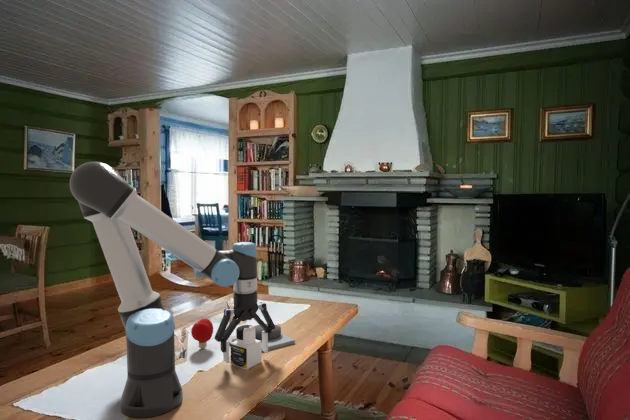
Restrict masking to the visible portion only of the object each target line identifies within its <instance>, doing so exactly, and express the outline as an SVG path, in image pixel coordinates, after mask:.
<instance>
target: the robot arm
mask: <svg viewBox="0 0 630 420" xmlns="http://www.w3.org/2000/svg"><path fill="white" fill-rule="evenodd" d="M69 190H70V192H71V194H72V196H73V197H74V199H75V200H77V202H78V205H79V209H80V210H81V212H82V213H81V214H82V216H83V218H84V220H87V221H90V222H91V223H92V225H93V229H94V230H95V233H96V236H97V239H98V242H99V244H100V247H101V250H102V252H103V255H104V258H105V260H106V261H105V262H106V263H107V266H108V269H109V272H110V274H111V277H112V280H113V282H114V286H115V289H116V291H117V294H118V297H119V299H120V301H121V302H120V304H119V306H118V308H117V311H118V313H119V317H120V319H121V322H122V325H123V327H124V331H125V338H126V339H125V340H126V368H127V369H126V371H127V377H126V381H125V385H124V387H123V388H124V389H123V391H122V395H121V397H120V411H121V413H122V414H124V415H125V416H128V417H130V418H136V419H137V418H138V419H139V418H141V419H144V418H152V417H157V416H160V415H163V414H166V413H168V412H170V411H172V410H174V409H176V408H177V407H178V406H179V405H180V404H181V403H182V401H183V392H184V391H183V387H182V385H181V382H180V379H179V376H178V374H177V372H176V354H175V353H176V352H175V350H176V348H175V347H176V345H175V329H176V324H175V323H176V322H175V319H174V318H175V317H174V315H173V313H171V312H170V311H169V310H166V308H165V305H164V303H163V299H162V298H161V294H160V293H159V292H157V291H154V290H153V289H152V285H151V283H150V280H149V277H148V275H147V271H146V269H145V266H144V263H143V260H142V257H141V254H140V251H139V248H138V246H137V242H136V240H135V237H134V234H133V231H132V229H133V230H135V231H136V232H138V233H139V234H141V235H142V236H144V237H146V238H147V239H148V240H150V241H152V242H153V243H154V244H156V245H158V246H159V247H161V249H162V248H163V249H164V250H166V251H167V252H169V253H170V254H171V255H173V256H175V257H176V258H178V259H179V260H181V261H182V262H184V263H185V264H187V265H188V266H190V267H192V268H193V273H194V276H195V277H197V278H208V280H209V279H210V280H211V281H212V282H213V283H214V284H215V285H217V286H219V287H223V288H226V287H228V288H229V287H231V286H233V289H232V290H233V291H234V292H233V308H229V309H228V308H227V307H225V308H224V309H223V316H222V319H221V321H220V323H219V326H218V327H217V328H218V329H217V330H216V333H215V335H214V340H215V341H216V342H220V351H221V352H222V353H223V354H222V355H223V362H225V363H226V364H229V363H230V345H229V342H228V341H227V340H228V338H229V337H231V336H232V334H233V333H234V330H236V329H237V326H238V325H240V323H241V322H246V321H251V320H252V319H253V320H254V321H255V322H256V323H257V325H260V326H261V327H262V328H263V329H264V330H265V331H262V351H263V353H265V354H268V353H269V350H268V341H270V333H271V332H272V329H275V325H276V324H274V321H273V319H272V317H271V315H270V313H269V312H268V308H267V303H265V302H263V301H261V302H259V303H258V291H257V290H258V253H257V252H258V251H257V245H256V243H254V242H252V241H251V242H250V241H240V242H234V243H233V244H232V249H227V250H218V249H216V248H215V247H214V246H212V245H211V244H209V243H208V242H206V241H204V240H203V239H202V238H201V237H199V236H198V235H196V234H194V233H193V232H191V231H190V230H189V229H188V228H186V227H185V226H183V225H182V224H181V223H179V222H177V221H176V220H174V219H173V218H172V217H171V216H169V215H167V214H166V213H164V211H161V210H160V209H159V208H158V207H156V206H155V205H153V204H152V203H150V202H149V201H147V200H146V199H144V198H143V197H142V196H140V195H139V194H138V192H137V188H136V187H134V186H133V185H131V184H130V183H129V182H127V180H125V179H124V178H123V177H122V176H121V175H120V174H119V172H117V171H116V169H114V168H113V167H112V166H110V165H109V164H107V163H103V162H101V161H88V162H84V163H83V164H82V163H81V165H79V166H77V167H76V168H75V169H74V170H73V172H72V173H71V175H70V179H69ZM258 310H260V312H261V315H262V316H263V317H264V320H265V322H266V323H265V322H264V321H263V320H262V318H261V317H260V316H259V315H258V314H257V312H258ZM233 314H234V315H233ZM231 317H232V318H231ZM229 322H230V323H229ZM266 324H268V326H267V325H266Z"/></svg>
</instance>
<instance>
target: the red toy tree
mask: <svg viewBox="0 0 630 420" xmlns="http://www.w3.org/2000/svg"><path fill="white" fill-rule="evenodd" d="M190 333H191V336H192V338H193V339H194V341H197V342H198V348H199V349H201V350H205V348H207V343H208V341H210V340H211V339H212V336H213V334H214V325H213V322H212V321H211V319H209V318H201V319H199V320H198V321H197V322H195V323H194V324H193V325H192V327H191V330H190Z"/></svg>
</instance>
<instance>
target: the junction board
mask: <svg viewBox="0 0 630 420" xmlns="http://www.w3.org/2000/svg"><path fill="white" fill-rule="evenodd" d="M227 341H228V342H229V347H231V343H232V342H234V341H237V340H236V335H230V337H229V338H228V340H227ZM260 341H261V340H260ZM295 343H296V339H294V338H292V337H290V336H289V335H286V334H284V333H282V332H281V336H280V337H279V338H277V339H274V340H270V341H268V351H271V350H273V349H278V348H283V347H286V346H290V345H293V344H295ZM261 350H262V341H261ZM262 353H264V351H262Z"/></svg>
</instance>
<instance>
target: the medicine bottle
mask: <svg viewBox="0 0 630 420" xmlns="http://www.w3.org/2000/svg"><path fill="white" fill-rule="evenodd" d="M235 331H236V332H235V336H236V340H237V341H234V342H232V343H231V346H230V365H231V366H235V367H237V368H241V369H244V370H249V369H251V368H254V367H255V366H257V365H258V364H261V363H262V360H263V359H262V353H263V352H262V350H261V341H260V340H256V338H255V327H254V326H253V325H251V324H250V325H249V324H244V325H243V324H242V325H240V326H238V327H236V328H235Z"/></svg>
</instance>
